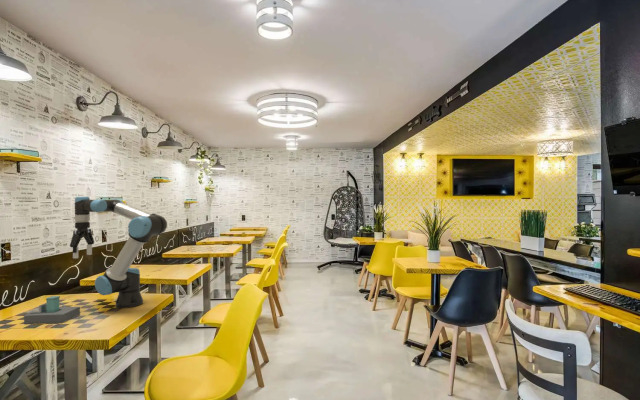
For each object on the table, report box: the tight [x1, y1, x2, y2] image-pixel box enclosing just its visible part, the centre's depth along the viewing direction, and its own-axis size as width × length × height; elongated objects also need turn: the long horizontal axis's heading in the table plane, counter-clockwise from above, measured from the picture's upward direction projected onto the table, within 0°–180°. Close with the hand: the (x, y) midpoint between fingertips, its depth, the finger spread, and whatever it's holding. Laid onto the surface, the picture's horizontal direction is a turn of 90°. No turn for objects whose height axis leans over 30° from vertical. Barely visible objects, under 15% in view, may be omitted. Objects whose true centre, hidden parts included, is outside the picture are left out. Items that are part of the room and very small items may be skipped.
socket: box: [23, 306, 81, 325], centre depth 190 cm, size 20×14×4 cm
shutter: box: [26, 302, 47, 314], centre depth 190 cm, size 8×8×4 cm
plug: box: [45, 295, 61, 313], centre depth 190 cm, size 4×4×11 cm
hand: (82, 256), depth 210 cm, fingers open, 13 cm apart
